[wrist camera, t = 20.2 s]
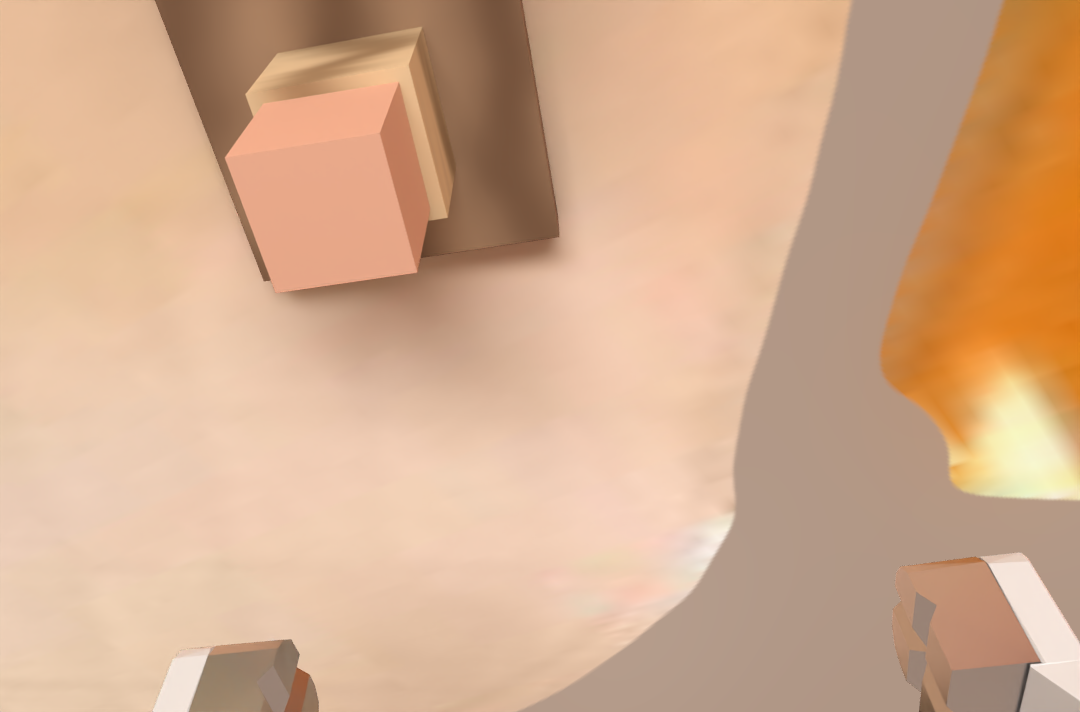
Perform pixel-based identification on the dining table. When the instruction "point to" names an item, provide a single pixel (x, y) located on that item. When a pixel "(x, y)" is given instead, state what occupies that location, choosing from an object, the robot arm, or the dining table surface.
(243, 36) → the base board
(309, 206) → the terracotta block
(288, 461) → the dining table surface
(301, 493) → the dining table surface
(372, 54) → the oak block
